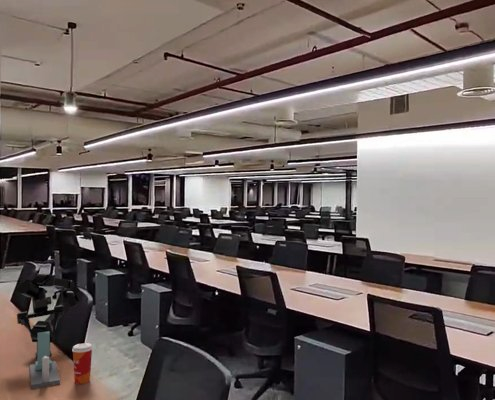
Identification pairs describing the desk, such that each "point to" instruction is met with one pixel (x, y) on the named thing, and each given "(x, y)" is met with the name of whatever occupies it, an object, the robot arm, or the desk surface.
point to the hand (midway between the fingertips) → (43, 332)
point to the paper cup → (82, 362)
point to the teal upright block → (43, 349)
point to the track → (39, 376)
